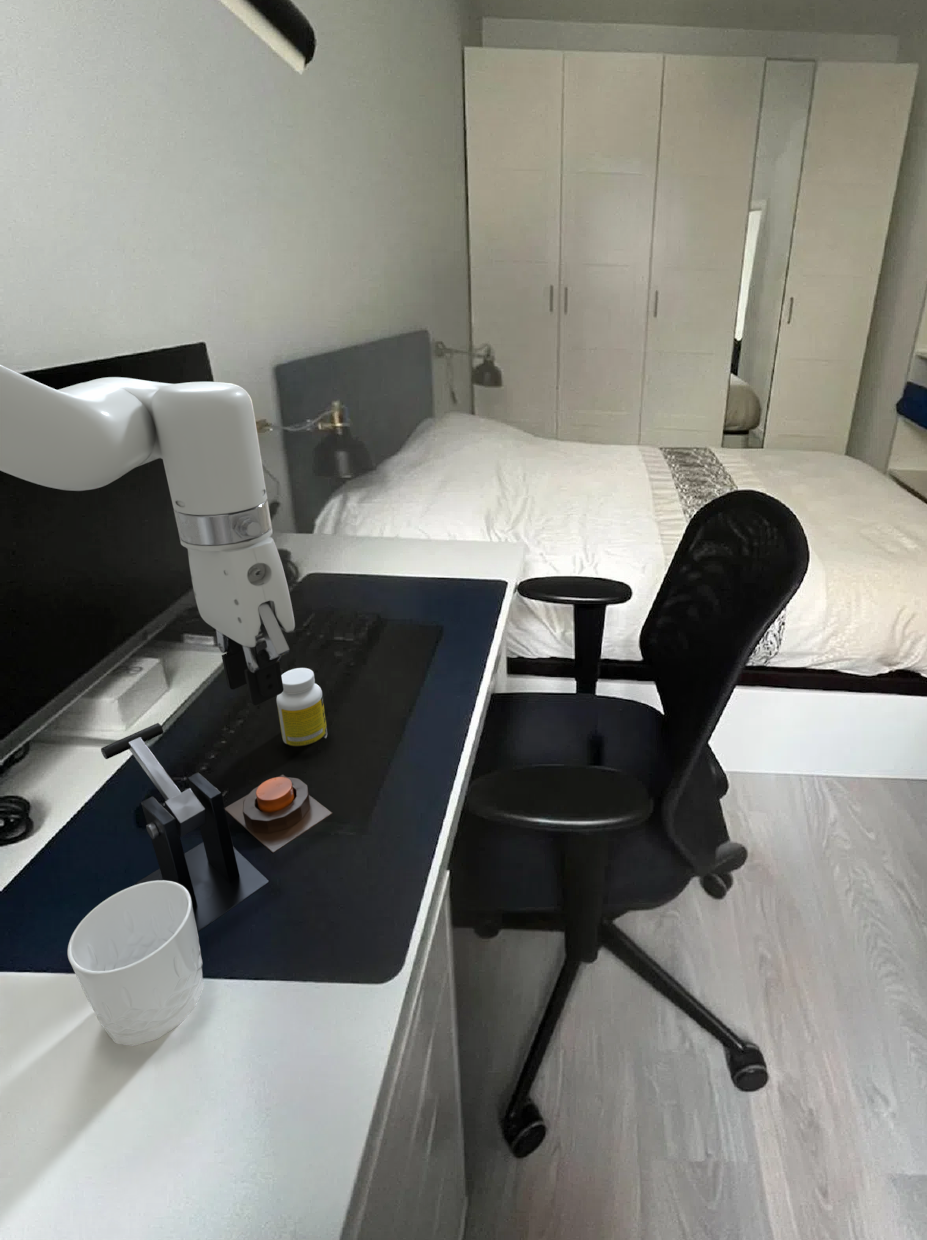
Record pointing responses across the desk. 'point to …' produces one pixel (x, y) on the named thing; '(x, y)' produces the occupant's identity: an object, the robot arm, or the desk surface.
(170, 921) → the white cup
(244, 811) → the button box
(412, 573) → the desk surface
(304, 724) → the supplement bottle
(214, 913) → the bracket
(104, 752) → the lever
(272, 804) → the button
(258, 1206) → the desk surface
